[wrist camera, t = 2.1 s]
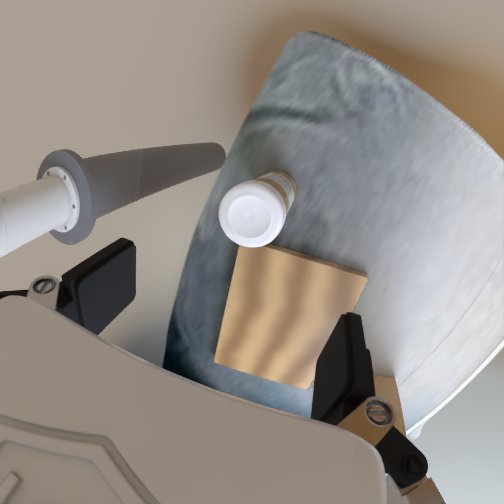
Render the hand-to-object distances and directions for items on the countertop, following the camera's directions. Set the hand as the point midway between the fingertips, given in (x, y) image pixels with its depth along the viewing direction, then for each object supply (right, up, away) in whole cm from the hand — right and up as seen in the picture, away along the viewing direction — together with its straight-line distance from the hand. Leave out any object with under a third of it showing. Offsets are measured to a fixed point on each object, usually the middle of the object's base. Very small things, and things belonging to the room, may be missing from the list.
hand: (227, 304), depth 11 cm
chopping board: (+5, -8, +26) cm, 28 cm away
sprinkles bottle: (+4, +9, +19) cm, 22 cm away
